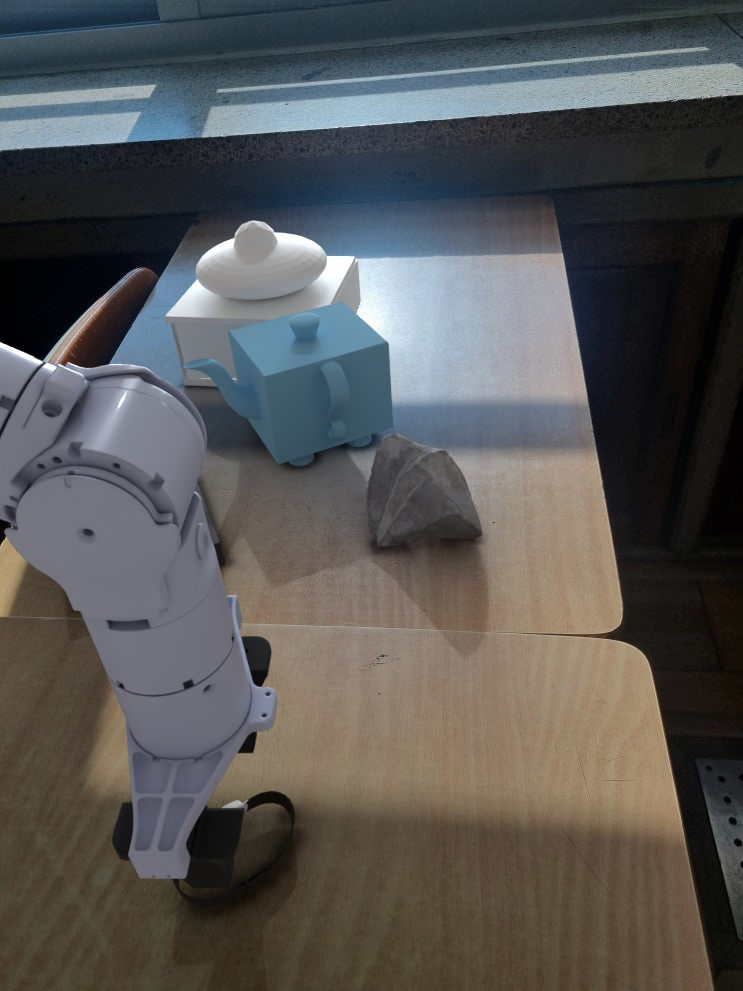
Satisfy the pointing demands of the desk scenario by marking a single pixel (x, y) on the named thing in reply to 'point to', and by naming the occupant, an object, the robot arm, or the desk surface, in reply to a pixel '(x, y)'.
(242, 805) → the watch
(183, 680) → the robot arm
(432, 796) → the desk surface
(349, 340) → the teapot
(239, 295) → the butter dish
